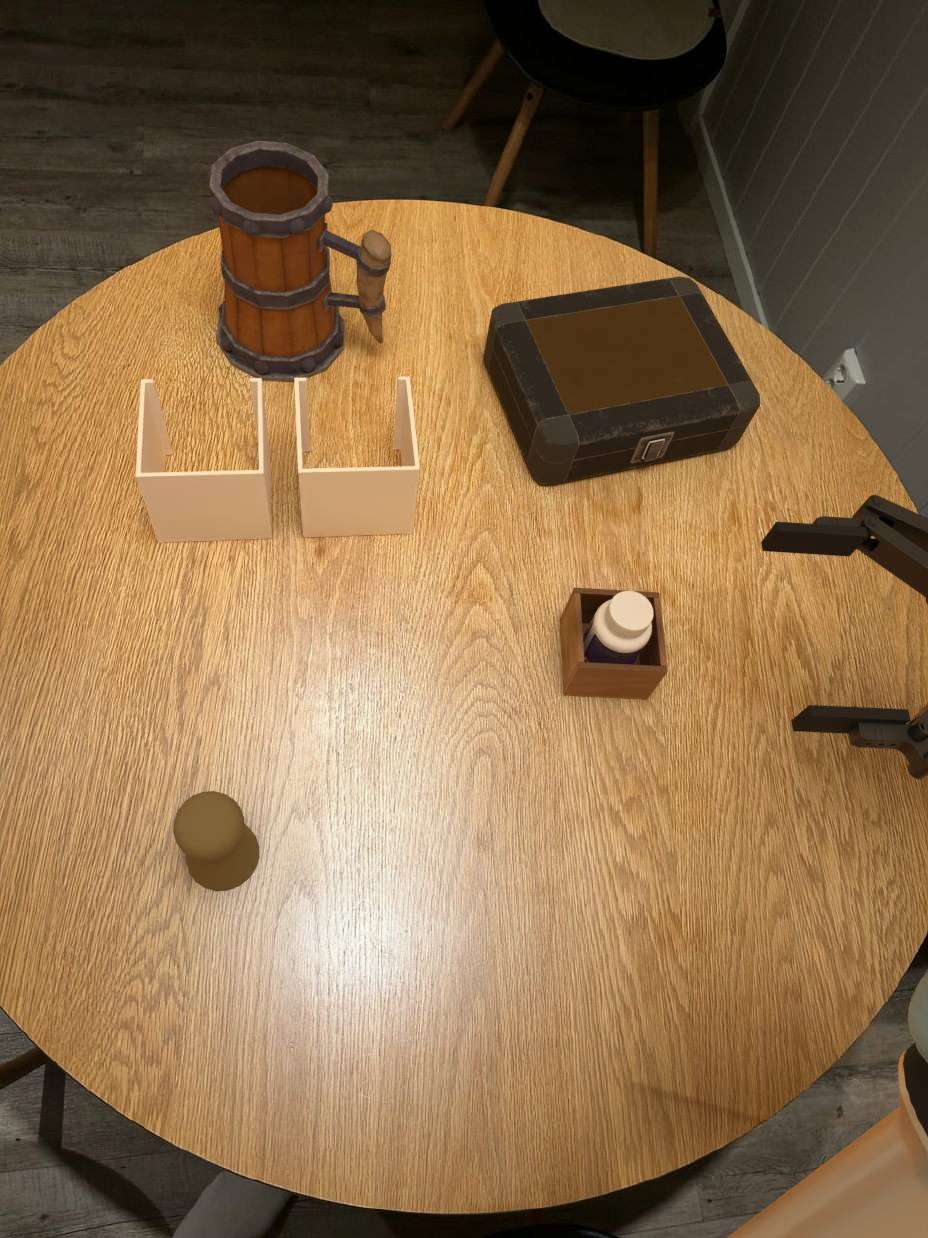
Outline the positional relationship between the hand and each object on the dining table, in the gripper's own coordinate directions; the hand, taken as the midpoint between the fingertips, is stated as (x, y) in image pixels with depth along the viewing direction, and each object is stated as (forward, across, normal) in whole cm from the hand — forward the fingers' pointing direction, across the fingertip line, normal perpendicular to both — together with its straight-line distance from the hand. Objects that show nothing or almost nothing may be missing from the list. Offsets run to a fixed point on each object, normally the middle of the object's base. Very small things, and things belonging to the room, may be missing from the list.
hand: (783, 622), depth 63 cm
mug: (+37, +48, -28) cm, 67 cm away
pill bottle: (+5, +10, -28) cm, 30 cm away
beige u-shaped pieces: (+37, +27, -28) cm, 54 cm away
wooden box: (+5, +10, -28) cm, 30 cm away
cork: (+39, -10, -28) cm, 49 cm away
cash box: (+2, +42, -28) cm, 51 cm away
